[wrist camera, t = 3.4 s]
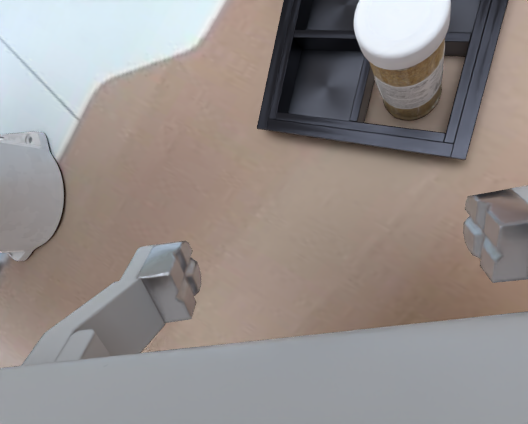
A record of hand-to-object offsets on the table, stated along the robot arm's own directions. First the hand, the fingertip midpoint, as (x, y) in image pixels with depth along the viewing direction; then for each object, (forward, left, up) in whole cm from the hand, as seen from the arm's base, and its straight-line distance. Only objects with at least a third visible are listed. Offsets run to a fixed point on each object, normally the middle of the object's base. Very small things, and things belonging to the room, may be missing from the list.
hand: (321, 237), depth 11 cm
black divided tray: (-5, +14, -21) cm, 26 cm away
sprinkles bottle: (-1, +11, -22) cm, 24 cm away
